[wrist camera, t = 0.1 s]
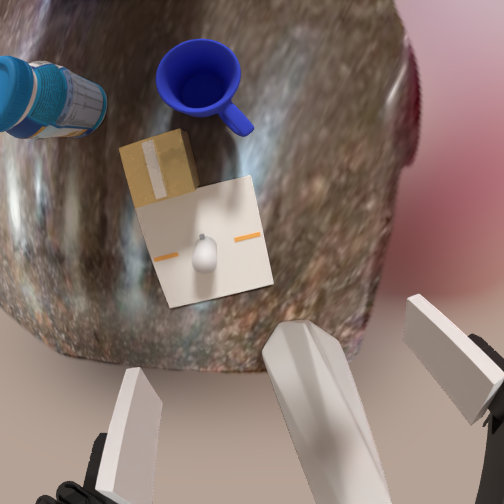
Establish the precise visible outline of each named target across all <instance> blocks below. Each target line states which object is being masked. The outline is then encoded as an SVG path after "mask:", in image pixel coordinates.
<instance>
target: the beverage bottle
mask: <svg viewBox="0 0 504 504" xmlns="http://www.w3.org/2000/svg"><path fill="white" fill-rule="evenodd" d="M106 110H107V97H106V94H105V92H104V90H103V89H102V87H101V86H100V85H98V84H96V83H94V82H92V81H89V80H87V79H85V78H83V77H81V76H79V75H77V74H75V73H72V72H71V71H70V70H68V69H67V68H65V67H63V66H60V65H54V64H53V63H51V62H48V61H35V62H31V63H27V62H25V61H23V60H21V59H18V58H15V57H12V56H0V132H4V131H6V132H7V133H9V134H10V135H12V136H14V137H16V138H19V139H28V138H30V139H37V140H39V139H46V138H48V137H70V138H81V137H85V136H87V135H89V134H91V133H92V132H93V131H95V130H96V129H97V128H98V127H99V125H100V124H101V122H102V121H103V119H104V117H105V114H106Z"/></svg>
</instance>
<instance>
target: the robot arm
mask: <svg viewBox="0 0 504 504" xmlns="http://www.w3.org/2000/svg"><path fill="white" fill-rule="evenodd" d="M403 341H404V342H405V343H406V344H407V346H408V347H409V348H410V349H411V350H412V352H413V353H414V354H415V355H416V357H417V358H418V359H419V360H420V361H421V363H422V364H423V365H424V366H425V367H426V369H427V370H428V371H429V372H430V373H431V375H432V376H433V377H434V379H435V380H436V381H437V382H438V384H439V385H440V386H441V387H442V389H443V390H444V391H445V393H446V394H447V395H448V396H449V398H450V399H451V400H452V401H453V403H454V404H455V405H456V407H457V408H458V409H459V411H460V412H461V413H462V414H463V416H464V417H465V419H466V420H467V421H468V423H469V424H470V425H472V424H474V423H475V422H476V421H478V420H479V419H480V418H482V417H483V415H484V414H485V412H486V411H487V409H489V411H490V414H489V415H488V417H487V419H486V420H485V422H484V423H483V427H485V426H486V424H487V423H488V434H487V443H486V451H485V458H484V465H483V470H482V475H481V481H480V485H479V490H478V494H477V498H476V502H475V504H504V358H502V357H501V356H500V355H499V354H498V353H497V352H496V351H494V349H493V348H492V347H491V346H489V345H488V343H487V342H486V341H484V340H483V339H482V338H481V337H479V336H477V335H474V334H470V335H469V336H466V335H465V334H464V333H463V332H462V331H461V330H460V329H459V328H458V327H457V326H455V325H454V324H453V323H452V322H451V321H450V320H449V319H448V318H447V317H445V316H444V315H443V314H442V313H441V312H440V311H438V310H437V309H436V308H435V307H434V306H433V305H432V304H431V303H429V302H428V301H427V300H426V299H425V298H423V297H422V296H421V295H420V294H417V295H414V296H412V297H409V298H407V306H406V316H405V326H404V334H403ZM162 406H163V402H162V401H161V399H160V398H159V396H158V395H157V394H156V392H155V390H154V389H153V387H152V386H151V384H150V383H149V381H148V379H147V378H146V376H145V374H144V373H143V371H142V369H141V368H140V367H136V368H129V369H126V372H125V375H124V378H123V381H122V385H121V388H120V391H119V394H118V398H117V402H116V405H115V408H114V412H113V415H112V419H111V423H110V426H109V431H108V433H100V434H99V436H98V437H97V438H96V440H95V441H94V444H93V448H92V453H91V456H90V461H89V464H88V468H87V472H86V476H85V481H84V485H83V487H81V486H80V485H78V484H77V483H75V482H73V481H67V482H63V483H62V484H61V485H60V486H59V487H58V489H57V491H56V498H57V500H55V499H54V498H52V497H50V496H48V495H43V496H40V497H39V498H38V499H37V501H36V504H152V502H153V488H154V476H155V465H156V454H157V445H158V437H159V428H160V421H161V413H162ZM488 421H489V422H488Z"/></svg>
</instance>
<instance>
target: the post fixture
mask: <svg viewBox="0 0 504 504" xmlns="http://www.w3.org/2000/svg"><path fill="white" fill-rule="evenodd" d="M134 208H135V207H134ZM135 211H136V214H137V217H138V221H139V224H140V227H141V230H142V233H143V236H144V239H145V242H146V245H147V248H148V251H149V254H150V257H151V260H152V262H153V265H154V268H155V271H156V274H157V276H158V279H159V282H160V284H161V287H162V289H163V292H164V295H165V297H166V300H167V302H168V305H169V307H170V308H173V307H178V306H182V305H187V304H191V303H196V302H200V301H205V300H209V299H213V298H218V297H222V296H226V295H231V294H235V293H239V292H243V291H247V290H251V289H255V288H259V287H263V286H267V285H271V284H274V283H273V278H272V273H271V268H270V263H269V258H268V254H267V249H266V244H265V239H264V234H263V230H262V225H261V220H260V216H259V211H258V206H257V202H256V197H255V192H254V188H253V183H252V178H251V175H249V176H244V177H240V178H236V179H231V180H227V181H223V182H219V183H215V184H211V185H207V186H203V187H199V188H197V189H196V191H195V192H191V193H187V194H184V195H180V196H176V197H173V198H169V199H166V200H162V201H159V202H155V203H152V204H149V205H145V206H142V207H139V208H135Z"/></svg>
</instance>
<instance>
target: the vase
mask: <svg viewBox="0 0 504 504" xmlns="http://www.w3.org/2000/svg"><path fill="white" fill-rule="evenodd" d="M262 357H263V360H264V363H265V366H266V369H267V372H268V374H269V377H270V380H271V383H272V386H273V389H274V391H275V394H276V397H277V400H278V402H279V405H280V408H281V411H282V414H283V417H284V420H285V422H286V425H287V428H288V431H289V433H290V436H291V438H292V441H293V444H294V447H295V450H296V452H297V455H298V458H299V460H300V462H301V465H302V468H303V471H304V473H305V476H306V478H307V481H308V484H309V486H310V489H311V492H312V494H313V496H314V499H315V502H316V504H392V502H391V497H390V493H389V489H388V485H387V482H386V478H385V475H384V472H383V468H382V464H381V461H380V458H379V454H378V451H377V448H376V445H375V441H374V438H373V435H372V432H371V429H370V426H369V423H368V420H367V417H366V414H365V411H364V408H363V405H362V403H361V399H360V396H359V393H358V391H357V388H356V385H355V383H354V379H353V377H352V374H351V371H350V368H349V366H348V363H347V360H346V358H345V355H344V352H343V350H342V347H341V345H340V343H339V342H338V340H337V339H335V338H334V337H332V336H331V335H329V334H328V333H326V332H325V331H324V330H322V329H321V328H319V327H318V326H316V325H315V324H313V323H312V322H310V321H309V320H307V319H303V320H294V321H285V322H281V323H279V324H278V325H277V327H276V328H275V330H274V332H273V333H272V335H271V336H270V338H269V340H268V341H267V343H266V345H265V346H264V348H263V350H262Z"/></svg>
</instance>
